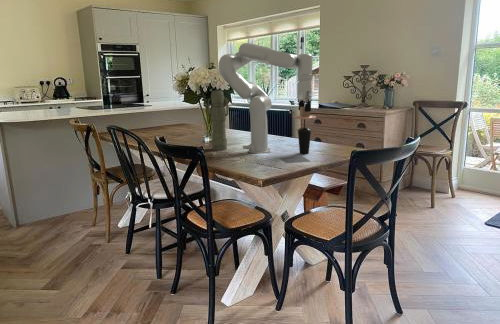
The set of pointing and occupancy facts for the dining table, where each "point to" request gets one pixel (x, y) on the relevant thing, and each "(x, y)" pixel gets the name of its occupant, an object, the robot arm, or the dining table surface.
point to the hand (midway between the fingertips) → (304, 110)
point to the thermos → (218, 120)
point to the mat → (294, 159)
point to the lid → (304, 114)
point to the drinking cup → (304, 139)
